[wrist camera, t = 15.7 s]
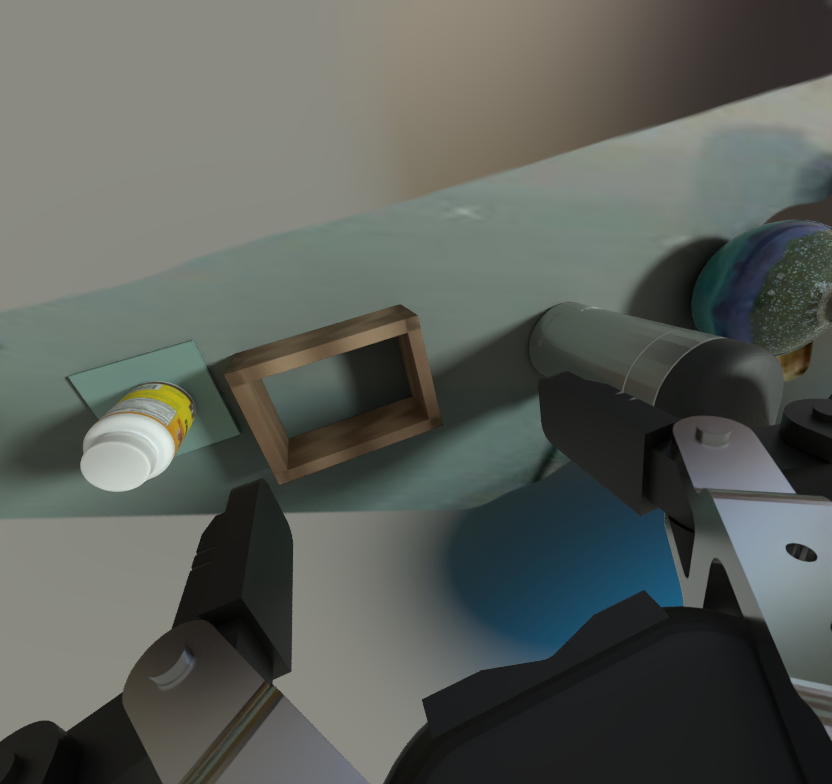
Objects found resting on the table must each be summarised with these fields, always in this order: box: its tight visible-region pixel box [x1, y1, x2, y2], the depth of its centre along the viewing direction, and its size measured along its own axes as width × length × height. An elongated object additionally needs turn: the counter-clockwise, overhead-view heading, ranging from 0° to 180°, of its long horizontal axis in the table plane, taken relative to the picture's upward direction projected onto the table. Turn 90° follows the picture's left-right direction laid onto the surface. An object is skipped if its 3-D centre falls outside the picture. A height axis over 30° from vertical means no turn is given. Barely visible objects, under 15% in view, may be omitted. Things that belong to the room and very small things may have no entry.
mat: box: [68, 340, 241, 457], centre depth 34 cm, size 10×10×1 cm
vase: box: [691, 220, 832, 356], centre depth 42 cm, size 15×15×13 cm
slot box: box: [224, 304, 443, 485], centre depth 36 cm, size 16×11×6 cm
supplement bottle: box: [80, 381, 196, 492], centre depth 29 cm, size 6×6×10 cm
